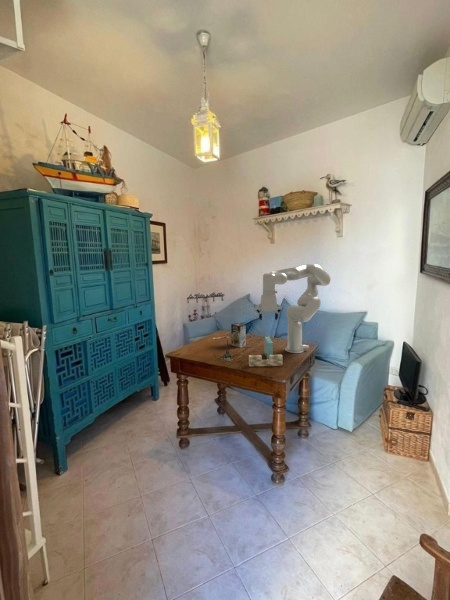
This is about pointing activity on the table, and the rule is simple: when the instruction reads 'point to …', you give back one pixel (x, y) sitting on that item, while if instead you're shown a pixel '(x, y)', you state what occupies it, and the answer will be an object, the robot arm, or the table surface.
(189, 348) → the table surface
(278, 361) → the slotted board
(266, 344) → the cross plate
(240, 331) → the coffee box
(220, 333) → the table surface
